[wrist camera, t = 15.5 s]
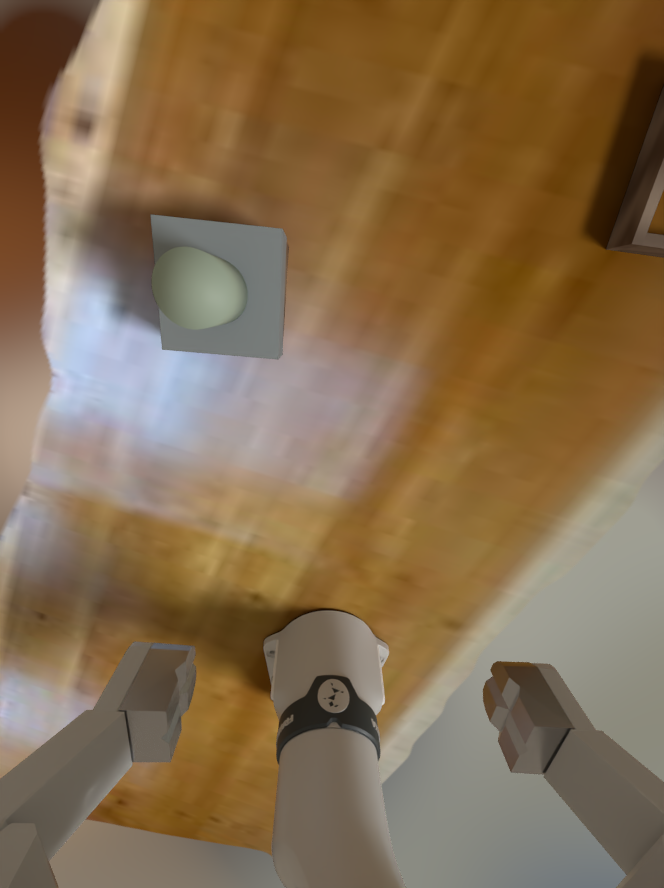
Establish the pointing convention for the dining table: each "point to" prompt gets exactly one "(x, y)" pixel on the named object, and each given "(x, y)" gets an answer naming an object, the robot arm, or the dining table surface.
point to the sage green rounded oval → (198, 288)
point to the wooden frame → (643, 195)
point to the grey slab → (262, 270)
